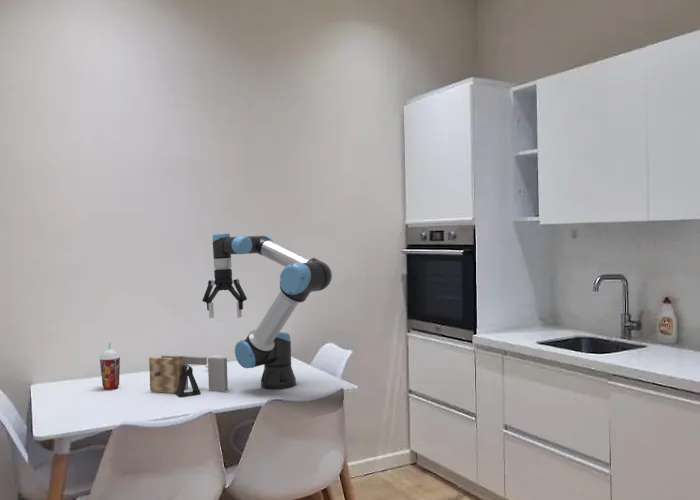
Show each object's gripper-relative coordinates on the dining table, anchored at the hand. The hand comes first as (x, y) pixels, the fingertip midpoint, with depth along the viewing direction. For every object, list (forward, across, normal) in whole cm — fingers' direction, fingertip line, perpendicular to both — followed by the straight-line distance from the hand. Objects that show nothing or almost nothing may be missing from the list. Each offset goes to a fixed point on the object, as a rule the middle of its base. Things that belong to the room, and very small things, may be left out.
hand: (225, 317), depth 270 cm
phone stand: (+30, +11, +15) cm, 35 cm away
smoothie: (+29, +51, +12) cm, 60 cm away
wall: (+30, +13, +7) cm, 33 cm away
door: (+29, +22, +15) cm, 39 cm away
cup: (+29, +24, -30) cm, 48 cm away
